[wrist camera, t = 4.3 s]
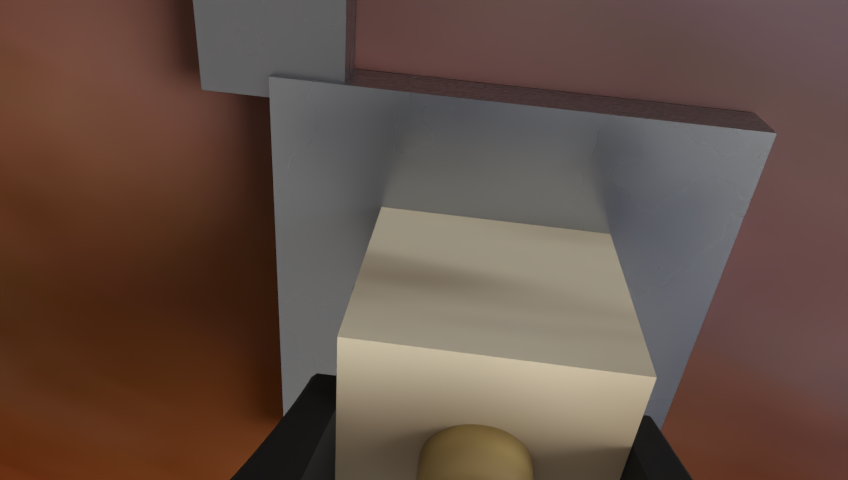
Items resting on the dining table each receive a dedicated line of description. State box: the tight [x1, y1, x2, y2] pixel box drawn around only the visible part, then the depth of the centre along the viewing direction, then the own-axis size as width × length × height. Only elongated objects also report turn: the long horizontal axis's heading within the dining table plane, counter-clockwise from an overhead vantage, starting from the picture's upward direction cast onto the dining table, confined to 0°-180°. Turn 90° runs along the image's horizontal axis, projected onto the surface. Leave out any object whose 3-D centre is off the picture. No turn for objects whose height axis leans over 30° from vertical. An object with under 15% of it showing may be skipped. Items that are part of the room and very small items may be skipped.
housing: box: [335, 207, 657, 480], centre depth 13 cm, size 5×5×6 cm
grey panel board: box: [193, 0, 777, 431], centre depth 11 cm, size 19×12×7 cm, turn 175°
